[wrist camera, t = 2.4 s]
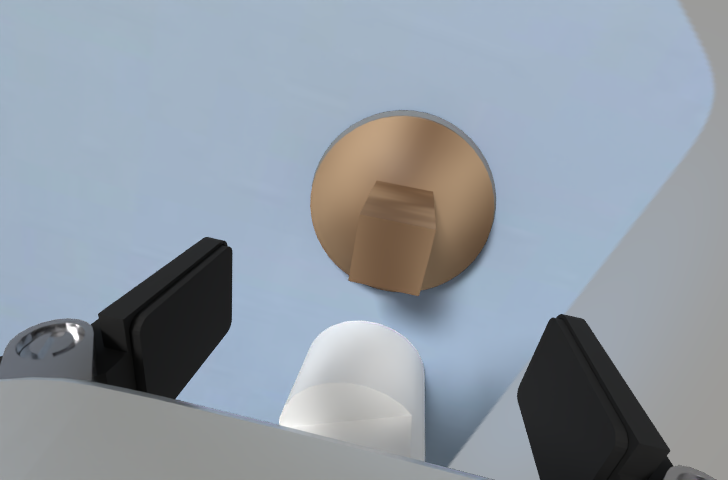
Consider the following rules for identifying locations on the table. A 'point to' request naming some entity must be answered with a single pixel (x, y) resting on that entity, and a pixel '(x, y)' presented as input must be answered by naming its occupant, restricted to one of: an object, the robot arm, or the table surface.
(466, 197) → the lid
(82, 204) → the table surface
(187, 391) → the table surface
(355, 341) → the base with upright slab
